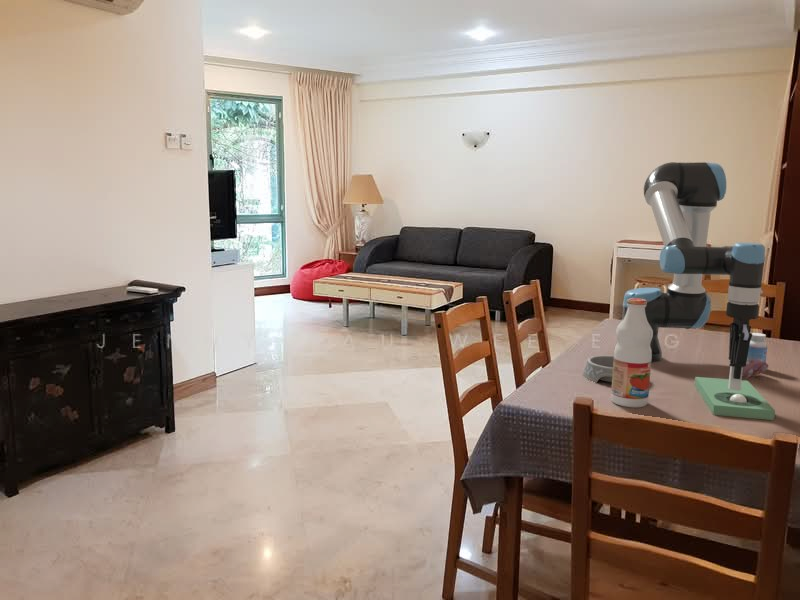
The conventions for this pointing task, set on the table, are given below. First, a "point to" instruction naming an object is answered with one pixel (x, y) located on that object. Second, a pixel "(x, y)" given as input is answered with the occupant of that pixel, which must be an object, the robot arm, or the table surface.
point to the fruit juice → (632, 357)
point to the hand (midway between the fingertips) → (734, 389)
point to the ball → (738, 398)
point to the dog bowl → (599, 368)
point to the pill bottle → (757, 347)
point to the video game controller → (754, 368)
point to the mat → (720, 403)
